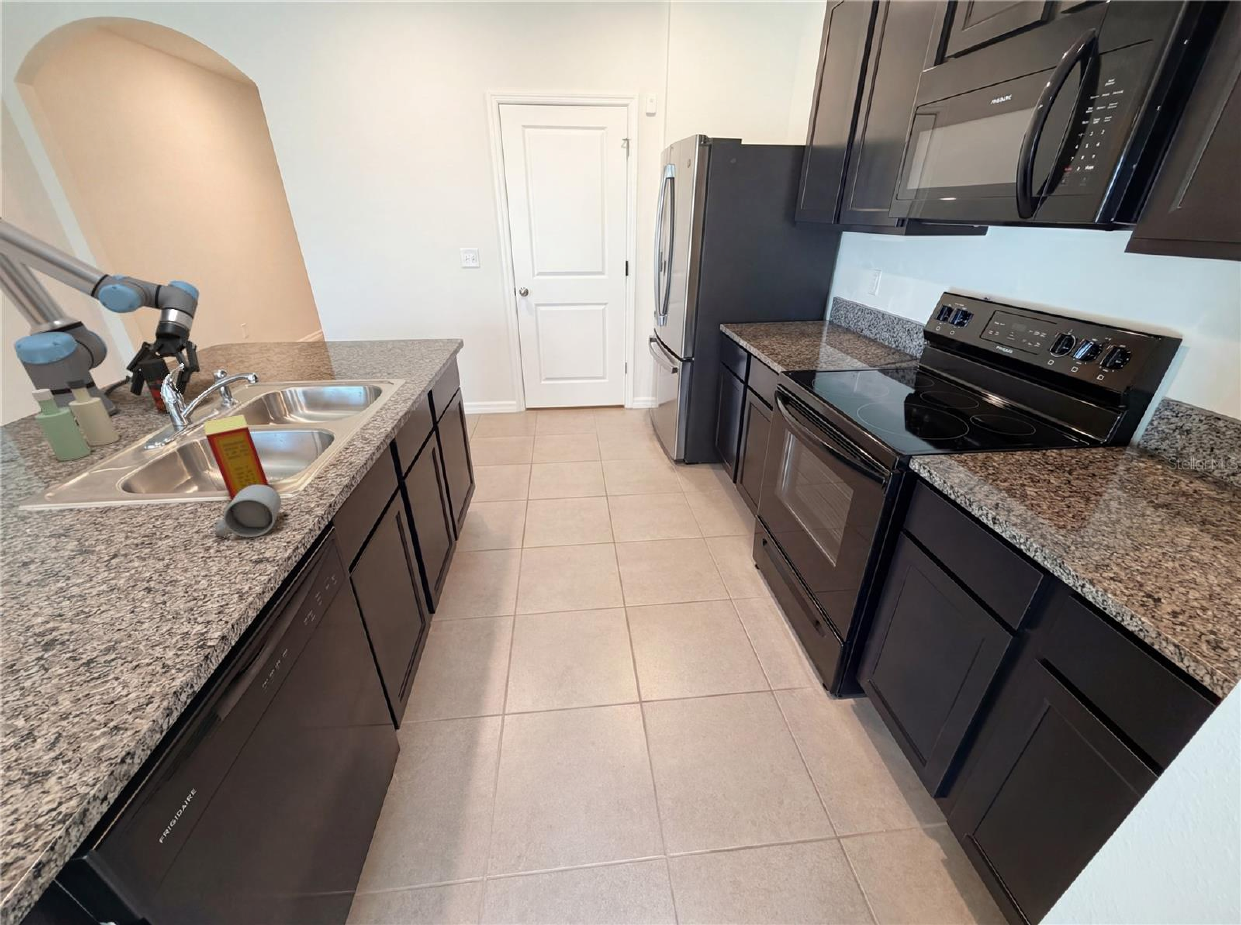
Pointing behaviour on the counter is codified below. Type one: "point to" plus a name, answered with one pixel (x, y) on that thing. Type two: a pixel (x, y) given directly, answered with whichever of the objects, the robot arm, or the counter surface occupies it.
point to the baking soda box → (235, 453)
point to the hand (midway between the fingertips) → (157, 393)
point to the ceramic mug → (250, 512)
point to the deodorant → (155, 379)
